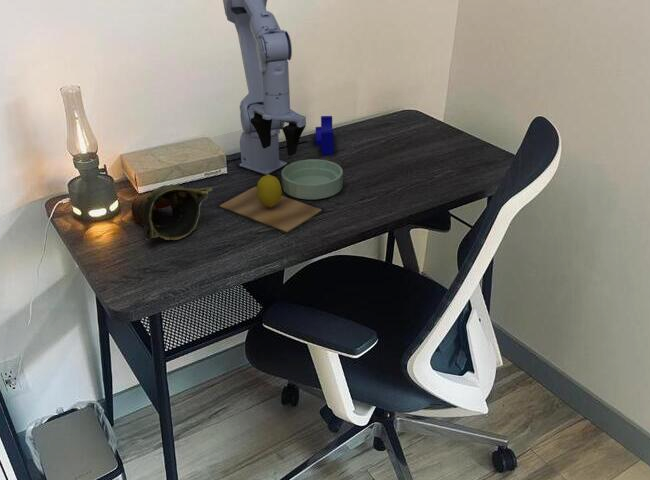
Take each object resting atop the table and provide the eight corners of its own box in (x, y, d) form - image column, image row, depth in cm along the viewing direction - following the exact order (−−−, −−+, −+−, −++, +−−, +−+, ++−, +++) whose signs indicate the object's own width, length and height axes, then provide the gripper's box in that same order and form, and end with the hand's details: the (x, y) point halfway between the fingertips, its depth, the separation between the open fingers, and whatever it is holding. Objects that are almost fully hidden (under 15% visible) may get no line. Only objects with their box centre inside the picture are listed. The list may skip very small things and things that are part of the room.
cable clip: (315, 137, 183) (315, 116, 180) (332, 137, 183) (332, 115, 180) (315, 154, 173) (315, 132, 170) (333, 154, 173) (333, 132, 170)
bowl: (269, 190, 157) (269, 174, 155) (307, 169, 166) (307, 154, 164) (317, 206, 149) (317, 190, 147) (354, 184, 158) (354, 168, 156)
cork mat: (219, 206, 151) (219, 205, 151) (255, 187, 158) (255, 186, 158) (287, 232, 140) (287, 231, 140) (322, 210, 148) (322, 209, 147)
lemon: (279, 214, 146) (277, 180, 142) (255, 212, 147) (252, 179, 143) (284, 202, 151) (283, 169, 146) (261, 201, 152) (258, 168, 147)
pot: (160, 163, 149) (199, 163, 135) (188, 204, 155) (228, 207, 141) (101, 211, 143) (136, 216, 129) (133, 252, 148) (169, 260, 134)
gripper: (238, 90, 145) (243, 149, 153) (290, 102, 137) (292, 164, 145) (260, 81, 150) (264, 139, 157) (311, 93, 142) (312, 153, 149)
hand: (279, 150), depth 151 cm, fingers open, 7 cm apart
